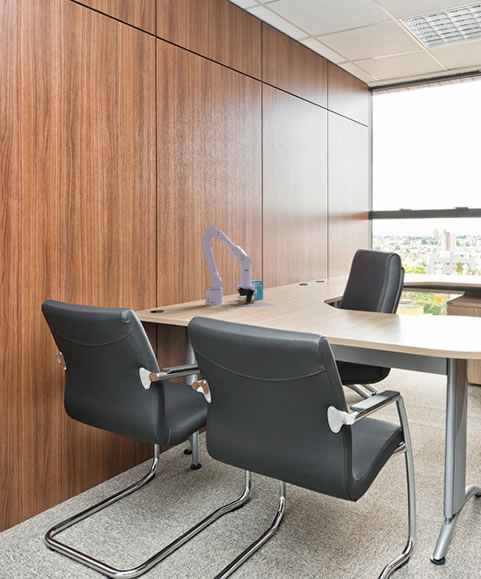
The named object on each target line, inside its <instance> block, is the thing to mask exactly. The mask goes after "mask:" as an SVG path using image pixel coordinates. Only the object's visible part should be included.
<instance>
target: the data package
mask: <svg viewBox="0 0 481 579" xmlns="http://www.w3.org/2000/svg"><path fill="white" fill-rule="evenodd" d="M251 285H253V286H255V292H254V293H253V296H254V301H258V300H259V301H260V300H263V299H264V282H263V280H260V279H251ZM244 288H246V287H244ZM247 290H248V289H247Z"/></svg>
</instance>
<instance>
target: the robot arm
mask: <svg viewBox="0 0 481 579" xmlns="http://www.w3.org/2000/svg"><path fill="white" fill-rule="evenodd" d="M215 237H216V239H219V240H221V241H222V242H223V243H224V244H225V245H226V246H227V247H228V248H229V249H230V253H231V255H232V256H234V258H235V259H237V261H238V262H240V265H241V269H240V273H241V274H240V284H236V285H237V293H238V294H239V296H246V297H247V302H251V299H252V296H253V293H254V292H255V286H253V285H251V280H252V263H253V262H252V258H250V256H249V254H248V253H246V252H245V251H244V250H243V247H242V246H239V245H235V244H234V243H233V242H232V241H231V240H230V238H229V237H228V236H227V234H225V233H224V232H223V231H221V230H220V229H219V228H217V227H216V226H215V225H210V226H208V227H207V228H206V230H205V231H204V234H203V236H202V239H201V246H202V250H203V253H204V257H205V260H206V265H207V268H208V272H209V276H210V285H211V287H209V289H207V290H206V291H205V302H204V305H207V306H217V305H226V303H225V302H224V288H223V287H222V286H223V280H222V278H221V276H220V275H219V272H218V269H217V264H216V261H215V257H214V254H213V250H212V247H211V243H212V242H213V239H214V238H215ZM244 287H246V288H244ZM247 289H248V290H247Z"/></svg>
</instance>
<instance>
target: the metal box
mask: <svg viewBox="0 0 481 579" xmlns="http://www.w3.org/2000/svg"><path fill="white" fill-rule="evenodd" d="M254 302H255V300H254V296H252V299H251V302H247V297H246V296H240V295H238V296H237V303H238V304H254Z"/></svg>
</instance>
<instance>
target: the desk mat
mask: <svg viewBox="0 0 481 579" xmlns="http://www.w3.org/2000/svg"><path fill="white" fill-rule="evenodd" d="M233 305H235V306H239V307H245V308H258V307H267V306H268V307H269V306H274V304H271V303H267V302H260V301H254V304H238V302H235V303H233Z"/></svg>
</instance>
